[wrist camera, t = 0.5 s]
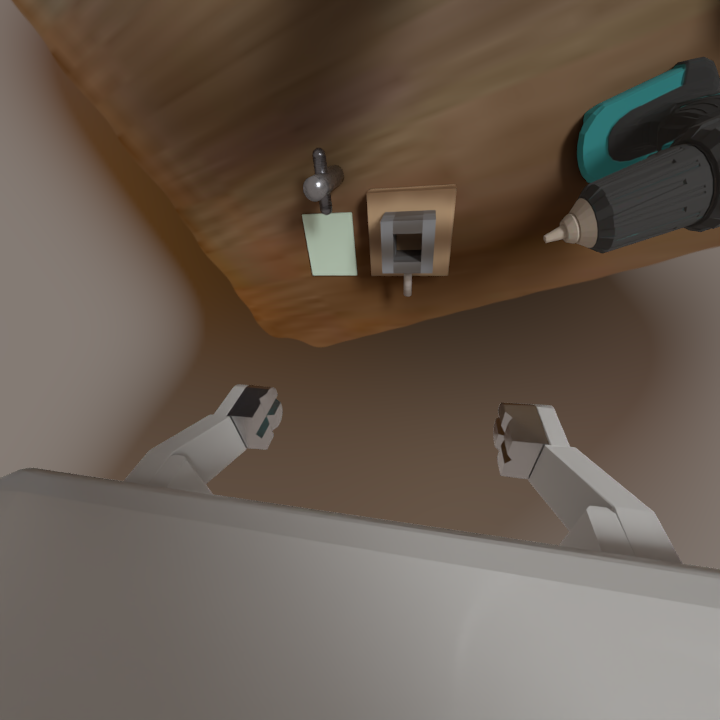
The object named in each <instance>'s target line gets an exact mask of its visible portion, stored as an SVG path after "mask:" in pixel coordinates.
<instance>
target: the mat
mask: <svg viewBox="0 0 720 720" xmlns="http://www.w3.org/2000/svg"><path fill="white" fill-rule="evenodd" d="M302 218H303V224H304V229H305V235H306V240H307V246H308V251H309V257H310V262H311V268H312V273H313V275H357V265H356V254H355V242H354V231H353V220H352V212H346V213H331V214H329V215H324V214H302Z"/></svg>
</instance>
